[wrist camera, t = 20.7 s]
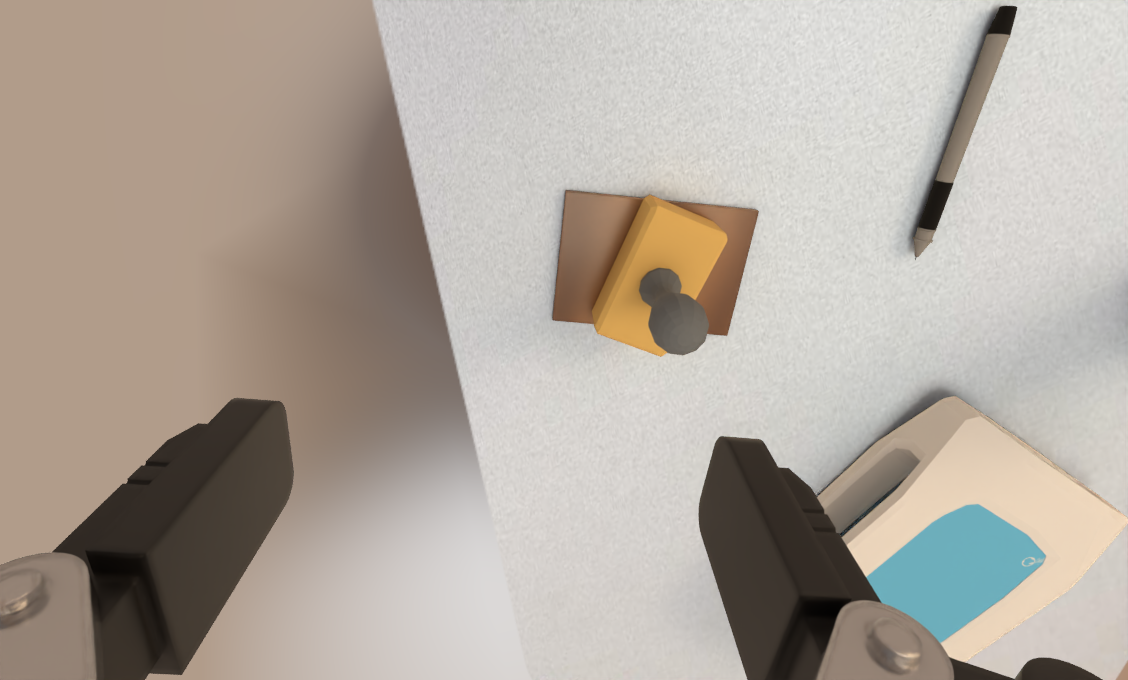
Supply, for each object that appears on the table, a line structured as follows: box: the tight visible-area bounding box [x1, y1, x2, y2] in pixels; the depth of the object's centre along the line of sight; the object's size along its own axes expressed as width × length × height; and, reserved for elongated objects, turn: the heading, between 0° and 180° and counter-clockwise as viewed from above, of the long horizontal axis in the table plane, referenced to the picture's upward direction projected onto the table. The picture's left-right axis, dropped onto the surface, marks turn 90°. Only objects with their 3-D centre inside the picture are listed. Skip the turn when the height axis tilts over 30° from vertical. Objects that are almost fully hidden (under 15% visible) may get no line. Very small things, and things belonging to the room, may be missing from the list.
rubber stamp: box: [592, 195, 728, 357], centre depth 37 cm, size 10×6×12 cm, turn 158°
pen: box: [913, 6, 1017, 259], centre depth 39 cm, size 1×16×1 cm, turn 175°
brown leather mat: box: [553, 190, 759, 336], centre depth 42 cm, size 14×10×1 cm
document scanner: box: [817, 396, 1128, 662], centre depth 52 cm, size 21×28×6 cm
